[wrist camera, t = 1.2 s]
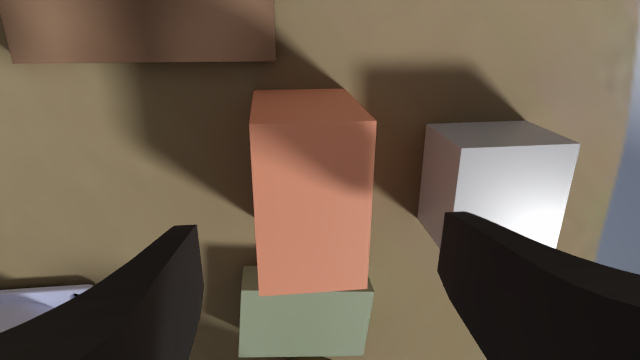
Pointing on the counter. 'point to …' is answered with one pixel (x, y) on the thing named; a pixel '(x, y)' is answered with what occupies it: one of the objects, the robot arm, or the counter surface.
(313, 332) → the flat olive brick
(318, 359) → the cork
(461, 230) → the robot arm
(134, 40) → the walnut board
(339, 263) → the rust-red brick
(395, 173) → the counter surface
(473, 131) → the white square brick
